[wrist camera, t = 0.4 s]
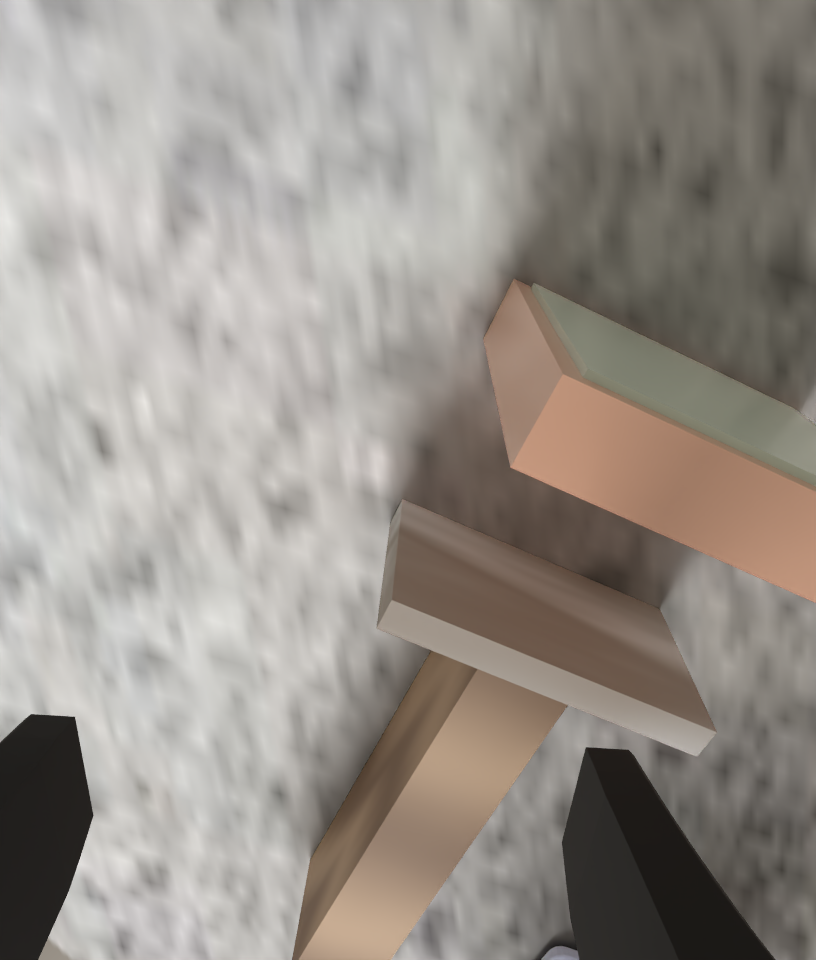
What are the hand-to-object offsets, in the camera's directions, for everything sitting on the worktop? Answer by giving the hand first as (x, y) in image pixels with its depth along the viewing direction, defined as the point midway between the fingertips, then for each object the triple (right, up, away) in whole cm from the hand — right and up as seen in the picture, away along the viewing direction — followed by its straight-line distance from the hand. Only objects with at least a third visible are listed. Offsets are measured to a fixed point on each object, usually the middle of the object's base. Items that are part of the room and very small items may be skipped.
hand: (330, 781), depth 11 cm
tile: (+7, +7, +8) cm, 13 cm away
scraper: (+2, -3, +13) cm, 13 cm away
